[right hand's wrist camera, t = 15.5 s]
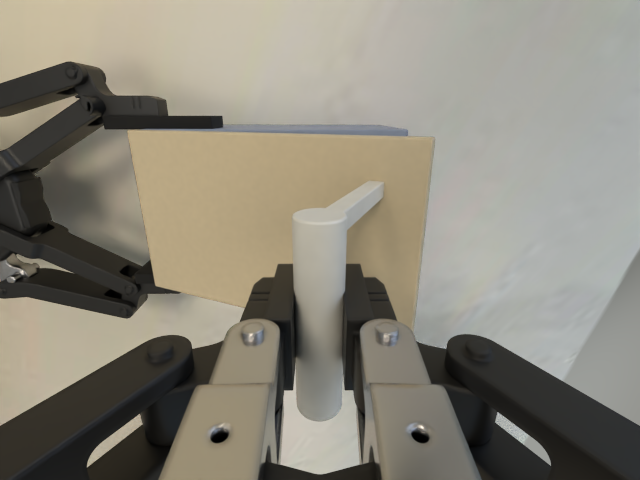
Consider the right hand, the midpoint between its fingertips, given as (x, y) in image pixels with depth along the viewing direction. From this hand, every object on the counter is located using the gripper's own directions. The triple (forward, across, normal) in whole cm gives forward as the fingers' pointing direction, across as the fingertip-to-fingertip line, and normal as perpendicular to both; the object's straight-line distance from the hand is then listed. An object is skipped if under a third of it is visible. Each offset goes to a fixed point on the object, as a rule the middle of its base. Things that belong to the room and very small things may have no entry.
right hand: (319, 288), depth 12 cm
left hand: (+13, -7, 0) cm, 14 cm away
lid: (+7, -3, 0) cm, 7 cm away
